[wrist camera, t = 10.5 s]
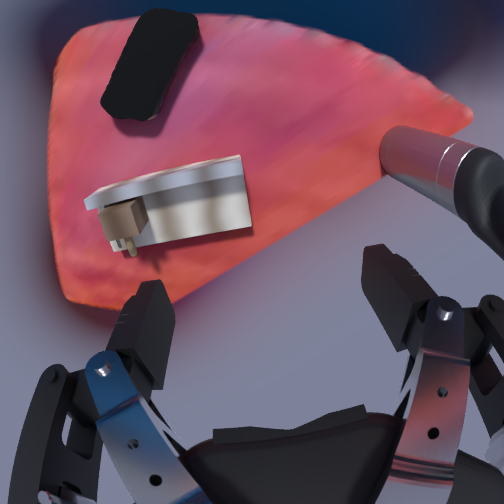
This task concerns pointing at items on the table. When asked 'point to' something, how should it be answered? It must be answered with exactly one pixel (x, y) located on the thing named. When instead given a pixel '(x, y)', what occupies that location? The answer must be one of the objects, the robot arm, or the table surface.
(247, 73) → the table surface
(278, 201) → the table surface
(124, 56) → the black sponge
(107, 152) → the table surface
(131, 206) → the brown block with peg
